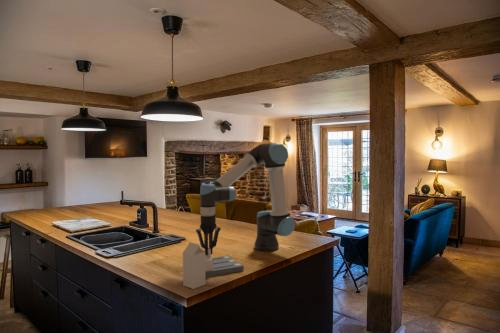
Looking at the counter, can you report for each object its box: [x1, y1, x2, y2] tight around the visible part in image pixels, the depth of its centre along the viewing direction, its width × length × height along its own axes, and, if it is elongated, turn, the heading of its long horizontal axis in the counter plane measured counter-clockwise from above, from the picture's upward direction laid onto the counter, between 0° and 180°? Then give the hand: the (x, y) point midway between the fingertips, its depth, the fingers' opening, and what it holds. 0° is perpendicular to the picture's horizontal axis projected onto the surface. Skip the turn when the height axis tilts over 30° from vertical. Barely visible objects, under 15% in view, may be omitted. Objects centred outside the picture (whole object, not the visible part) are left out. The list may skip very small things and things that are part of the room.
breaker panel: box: [205, 254, 245, 278], centre depth 181 cm, size 24×20×8 cm
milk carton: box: [182, 241, 206, 290], centre depth 158 cm, size 7×7×19 cm
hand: (208, 261), depth 179 cm, fingers closed
